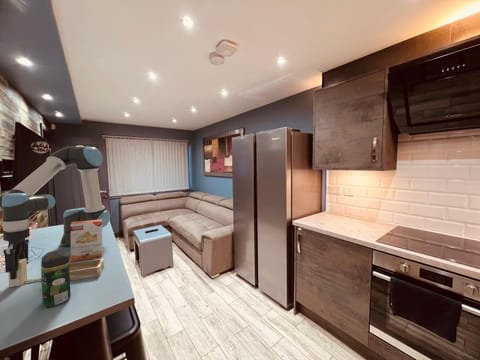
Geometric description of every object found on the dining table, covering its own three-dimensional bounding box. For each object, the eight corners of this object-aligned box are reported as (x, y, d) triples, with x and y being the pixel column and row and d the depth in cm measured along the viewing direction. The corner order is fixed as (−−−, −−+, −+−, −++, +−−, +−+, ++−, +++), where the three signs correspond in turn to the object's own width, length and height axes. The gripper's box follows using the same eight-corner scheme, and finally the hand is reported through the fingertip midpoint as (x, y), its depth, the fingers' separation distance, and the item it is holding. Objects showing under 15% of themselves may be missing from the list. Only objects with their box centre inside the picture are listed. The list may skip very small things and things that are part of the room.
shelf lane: (66, 271, 97) (66, 263, 97) (104, 265, 103) (103, 258, 103) (58, 282, 87) (58, 273, 87) (99, 275, 94) (99, 267, 94)
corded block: (15, 281, 87) (15, 259, 87) (69, 272, 95) (68, 252, 95) (7, 288, 82) (6, 265, 82) (64, 279, 90) (64, 257, 90)
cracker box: (70, 262, 106) (69, 224, 105) (72, 258, 111) (71, 221, 110) (102, 256, 114) (102, 220, 113) (102, 253, 119) (102, 218, 118)
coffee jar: (41, 299, 76) (39, 252, 75) (68, 290, 82) (67, 246, 81) (43, 311, 70) (42, 260, 69) (72, 301, 76) (71, 253, 75)
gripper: (16, 225, 90) (17, 274, 92) (-11, 236, 75) (-8, 296, 76) (38, 223, 94) (39, 271, 95) (17, 234, 78) (19, 291, 79)
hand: (18, 282), depth 86 cm, fingers closed on corded block, 4 cm apart
